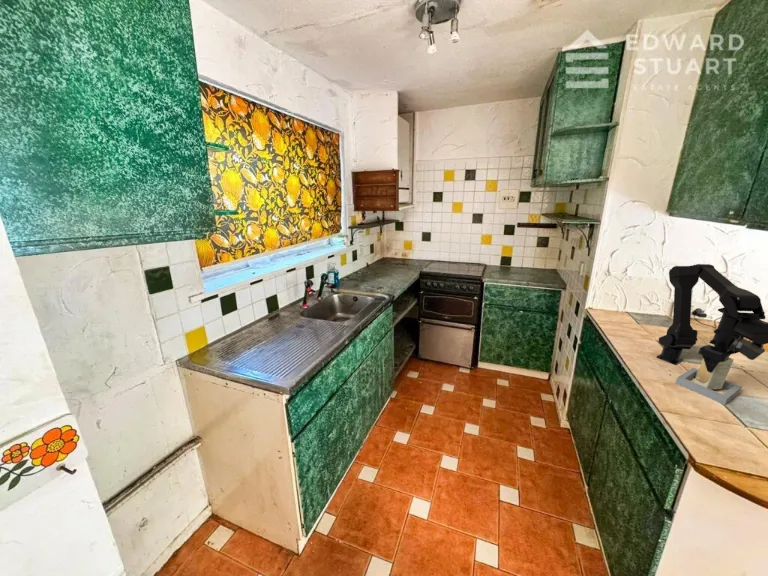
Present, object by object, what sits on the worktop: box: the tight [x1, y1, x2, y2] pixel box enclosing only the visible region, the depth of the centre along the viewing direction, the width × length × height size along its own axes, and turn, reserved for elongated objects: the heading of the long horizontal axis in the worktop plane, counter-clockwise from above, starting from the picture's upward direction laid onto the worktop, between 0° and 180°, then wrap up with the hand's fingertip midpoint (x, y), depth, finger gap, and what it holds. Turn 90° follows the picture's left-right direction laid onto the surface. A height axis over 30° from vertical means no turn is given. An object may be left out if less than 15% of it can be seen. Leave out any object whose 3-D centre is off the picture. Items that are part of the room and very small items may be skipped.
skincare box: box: [693, 356, 734, 390], centre depth 107 cm, size 6×4×12 cm
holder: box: [675, 367, 743, 405], centre depth 109 cm, size 13×13×2 cm
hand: (713, 368), depth 106 cm, fingers closed on skincare box, 7 cm apart
